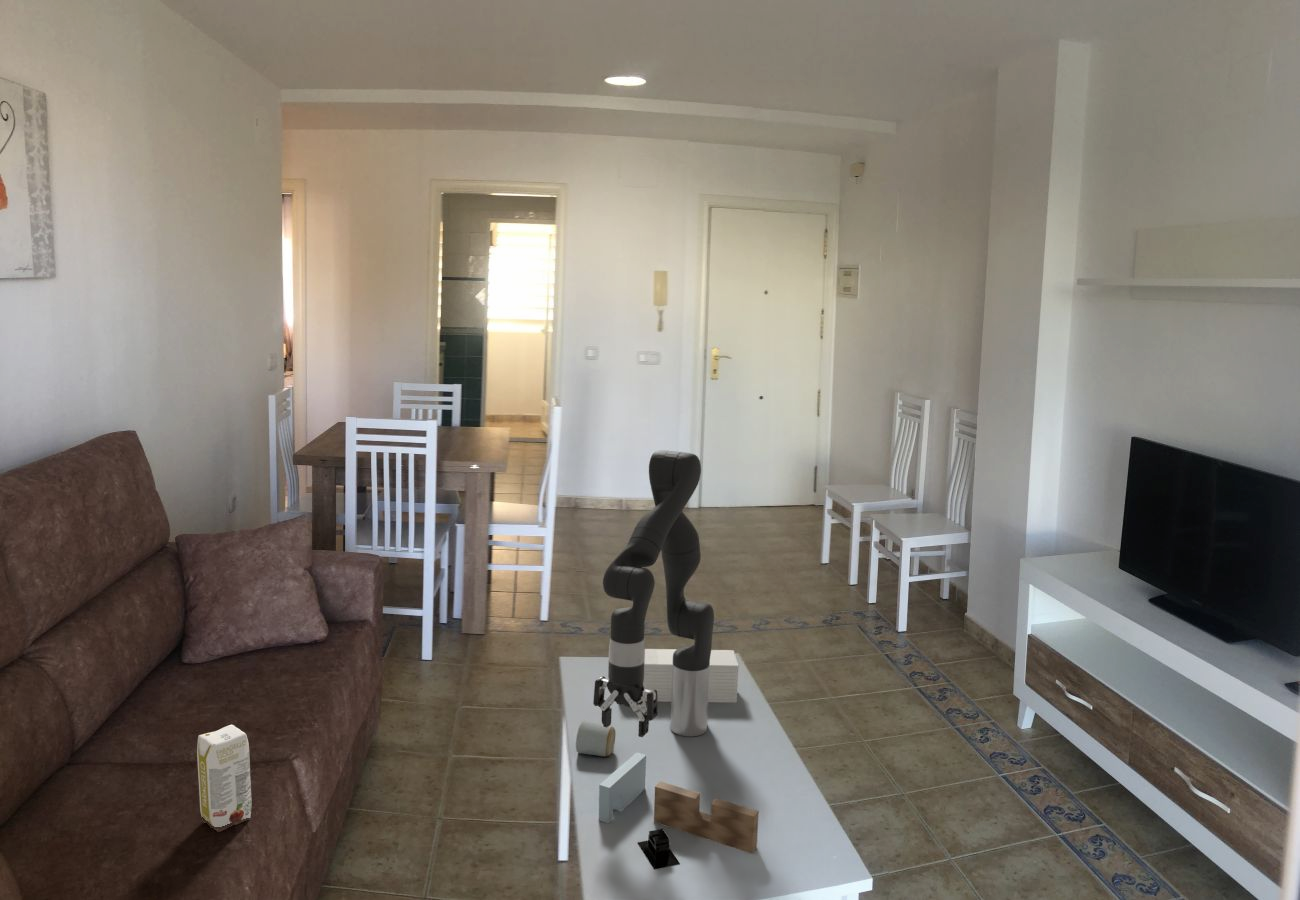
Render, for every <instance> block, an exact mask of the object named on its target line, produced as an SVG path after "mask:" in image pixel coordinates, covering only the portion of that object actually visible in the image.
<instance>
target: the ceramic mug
mask: <svg viewBox="0 0 1300 900" xmlns="http://www.w3.org/2000/svg"><path fill="white" fill-rule="evenodd" d="M616 734H617V733H616V728H615V727H614V726H612V725H610V726H608V727H607V728H606V727H604V726H603V724H602V722H598V721H597V722H596V721H593V720H589V719H582V721H581V722H580V724H579V726H578V729H577V733H576V741H575V750H576V752H577V753H578V754H583V755H591V756H592V755H594V756H598V757H609V756H611V754H612V753H613V752H614V747H615V742H616Z"/></svg>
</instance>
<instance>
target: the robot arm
mask: <svg viewBox="0 0 1300 900" xmlns="http://www.w3.org/2000/svg"><path fill="white" fill-rule="evenodd" d="M701 473H702V466H701V460H700V459H699V456H698V455H696V454H694V453H690V452H684V451H675V450H656V451H655V452H654V453H652V455H651V457H650V459H649V462H648V476H649V477H648V478H649V484H650V490H651V493H652V494H651V495H652V498H653V504H654V507H653V508H652V509H651V510H649V511H648V512H646V513H645V514H644V515H643V516H642V517H641V518H640V519H639V521H638V522H637V523H636V525H635V527H634V529H633V531H632V533H631V535H630V538H629V540H628V543H627V545H626V546H625V547H624V548H623V549H622V551H621V552H620V553H619V554H618V555H617V556H616V557H615V558H614V560H613V561H612V562H611V563H610V564H609V566H607V568H606V570H605V572H604V575H603V578H602V588H603V591H604V592H605V594H606V595H607V596H609V597H610V598H614V599H620V600H626V601H629V602H630V601H631V602H632V606H630V607H628V606H627V607H619V608H617V609H615V610H613V612H612V613H611V617H610V641H609V645H608V646H609V648H608V673H607V674H608V675H607V677H608V679H606V677H605V676H604V675H602V676H600V677H598V678H597V679H596V680H595V681H594V689H593V690H594V691H593V706H595V707H599V708H600V710H601V723H602V724H603V726H604V727H606V728H607V727H608V726H612V725H611V724H612V713H613V712H612V707H611V706H612V705H613V704H614V703H615V702H616V705H623V706H624V707H627V708H631V710H632V711H633V713H635V714H636V715H637V717H638V719H639V720H638V737H640V738H643V737H644V736H645V735H646V734H648V732H649V727H650V726H649V722H650V721H652V720H655V718H656V717H658V705H659V704H658V701H657V690H656V689H653V690H652V691H650V690H645V689H644V686H643V681H644V662H645V649H646V647H645V646H646V645H645V622H646V617H647V612H648V609H649V604H650V601H651V599H652V595H653V593H654V589H655V584H656V582H655V576H654V574H653V572H652V571H651V570H650V569H648V567H651V566H654V565H655V564H656V562H657V560H658V558H659V555H660V553H661V559H662V565H663V571H664V580H665V592H666V622H667V628H668V631H669V633H670V634H672V635H673V636H675V637H679V638H685V639H689V640H694V643H693V644H692V645H686V646H681V647H680V648H677V650H676V651H675V652H674V654H673V666H672V695H671V703H670V704H671V705H670V724H669V725H670V726H669V727H670V730H671V731H672V733H675V734H677V735H679V736H683V737H684V736H685V737H697V736H701V735H703V734H704V733H706V732H707V730H708V728H707V727H708V707H709V702H708V691H709V667H710V655H711V650H712V644H713V643H712V642H713V634H714V633H713V632H714V624H715V623H714V622H715V613H714V608H713V606H712V605H711V604H710V603H705V602H701V601H694V600H689V599H686V597H685V592H684V591H685V588H686V585H687V583H689V581H690V579H691V578H692V576H693V575H694V573H695V572H696V571H697V569H698V568H699V565H700V563H701V558H702V557H701V555H702V554H701V546H700V545H701V544H700V537H699V534H698V531H697V529H696V527H695V526H694V524H693V522H691V520H690V519H689V518H688V516H687V515H686V514H685V513H684V511H683V510H684V508H685V507H686V506H687V504H688V503H689V501H690V500H691V498H692V496H693V494H695V491H696V489H697V488H698V485H699V482H700V478H701V475H702V474H701ZM606 688H607V690H608V692H609V694H610V695H609V696H608V697H606V699H605V689H606ZM642 696H644V697H645V701H644V700H643V698H642Z"/></svg>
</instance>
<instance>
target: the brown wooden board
mask: <svg viewBox="0 0 1300 900" xmlns="http://www.w3.org/2000/svg"><path fill="white" fill-rule="evenodd" d="M653 801H654V805H653V806H654V807H653V808H654V809H653V810H654V811H653V823H656V824H659V825H662V826H665V827H668V828H671V829H674V830H677V831H681V832H684V833H688V834H689V835H692V836H696V837H698V838H703V839H705V840H707V841H712V842H714V843H718V844H721V845H723V846H724V845H725V846H727V847H730V848H733V849H736V850H739V851H742V852H745V853H748V854H752V855H753V853H754V852H755V851H756V850H757V848H758V833H759V832H758V830H759V814H760V813H759V810H757V809H753V808H751V807H747V806H744V805H740V804H737V803H733V802H729V801H727V800H723V799H720V798H717V797H716V798H715V799H714V801H712V803H711V809H710V814H709V813H706V812H703V811H701V810H700V805H701V793H700V792H697V791H694V790H691V789H687V788H683V787H679V786H677V785H674V784H670V783H667V782H664V781H659V782H658V783H657V784H656V785H655V786H654V800H653Z"/></svg>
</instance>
